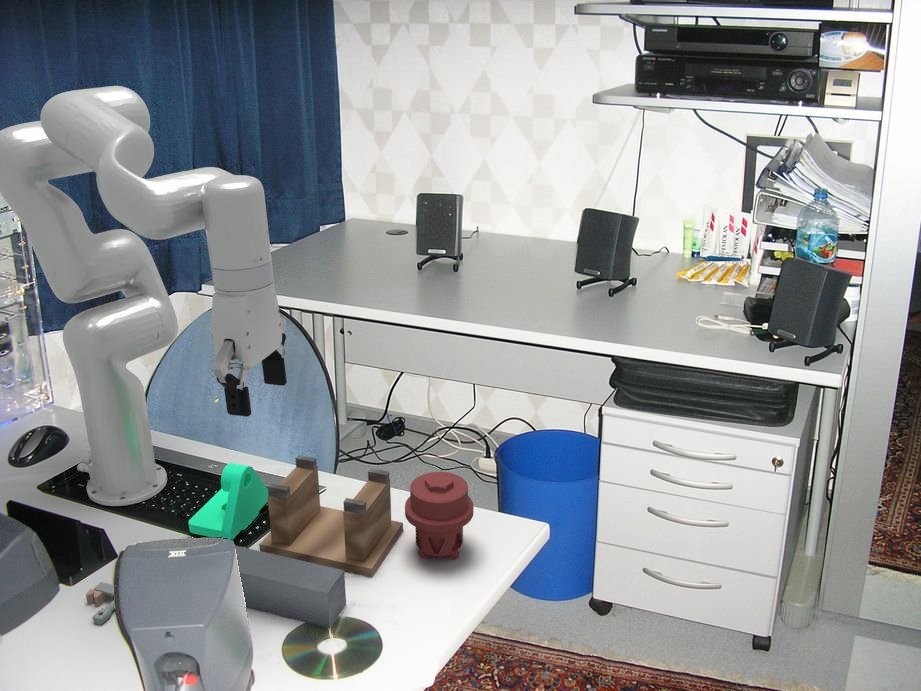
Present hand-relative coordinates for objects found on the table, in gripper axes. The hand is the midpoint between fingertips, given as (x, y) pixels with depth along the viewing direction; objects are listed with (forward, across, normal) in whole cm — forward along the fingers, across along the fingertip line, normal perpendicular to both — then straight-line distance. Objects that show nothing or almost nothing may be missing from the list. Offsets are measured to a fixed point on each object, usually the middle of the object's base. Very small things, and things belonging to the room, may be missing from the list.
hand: (258, 398), depth 121 cm
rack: (+27, -9, +4) cm, 29 cm away
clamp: (+28, +13, -14) cm, 33 cm away
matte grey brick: (+28, +6, +3) cm, 29 cm away
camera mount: (+27, -9, -13) cm, 31 cm away
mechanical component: (+28, -11, +20) cm, 37 cm away
